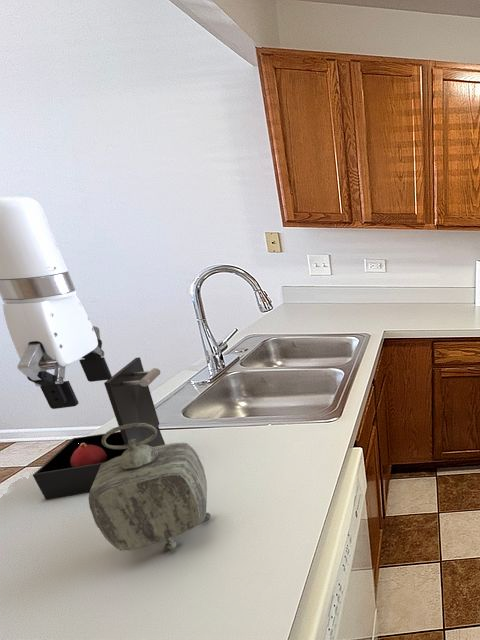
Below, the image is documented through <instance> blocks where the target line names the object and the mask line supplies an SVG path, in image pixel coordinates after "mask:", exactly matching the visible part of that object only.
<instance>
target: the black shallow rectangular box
mask: <svg viewBox="0 0 480 640" xmlns="http://www.w3.org/2000/svg"><path fill="white" fill-rule="evenodd" d="M156 430H157V434H156V436H155V437H154V439H153V440H151V441H149V442H148V443H146V444H144V445H148V446H151V447H155V446H160V445H166V443H165V440H164V438H163V434H162V432H161V429H160V425H158V427H157V428H156ZM105 434H106V433H99V434H93V435H85V436H79V437H72V438H71V440H69V441H68V442H67V443H66V444H65V445H64V446H62V448H60V450H59V451H57V452H56V453H55V454H54V455H53V456H52V457H50V459H49V460H47V461H46V462H45V463H44V464H43V465H42V466H40V468H39V469H38V470H36V471H35V472H34V473H33V474H32V478H33V479H34V481H35V482H36V484H37V486H38V488H39V490H40V491H41V494H42V495H43V497H44V499H45V500H46V501H49V500H53V499H54V500H55V499H59V498H65V497H71V496H76V495H82V494H88V493H90V489H91V487H92V485H93V482H94V480H95V478H96V475H97V473H98V471H99V468H100V466H101V465H102V464H104V463H105V462H104V463H98V464H92V465H85V466H79V467H72V466H71V463H70V460H71V457H72V455H73V453H74V451H75V450H76V449H77V448H78V447H79V446H80V444H81V443H85V444H87V445H95V446H98V447H100V448H102V449H103V450H104V451H105V453H106V454H107V459H106V462H107V461H109V460H111V459H113V458H116V457H119V456H122V454H123V453H124V451H126V450H127V449H110V448H107V447H105V446H104V445H103V444H102V437H103V436H104V435H105ZM153 434H154V432H153V433H152V434H151V436H152V435H153ZM151 436H150V437H151ZM78 443H79V444H78ZM106 443H107V444H108V445H113V446H120V445H125V443H124V440H123V437H122V434H121V432H120V431H116V432H114V433H112V434H110V435H109V436H108V437H107V438H106Z"/></svg>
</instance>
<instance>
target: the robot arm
mask: <svg viewBox="0 0 480 640" xmlns="http://www.w3.org/2000/svg"><path fill="white" fill-rule="evenodd" d="M77 294H78V291H77V289H76V288H75V285H74V282H73V280H72V277H71V275H70V273H69V271H68V268H67V264H66V262H65V260H64V258H63V254H62V253H61V250H60V248H59V245H58V243H57V241H56V238H55V236H54V233H53V231H52V228H51V225H50V224H49V220H48V218H47V216H46V213H45V211H44V209H43V207H42V205H41V204H40V203H39V202H38V201H37V200H36V199H34V198H32V197H30V196H25V195H11V194H8V195H3V194H2V195H0V298H1V300H2V302H3V304H2V310H3V311H2V312H3V316H4V320H5V324H6V326H7V330H8V332H9V335H10V338H11V340H12V343H13V346H14V348H15V351H16V353H17V356H18V358H19V359H20V360H19V362H18V364H17V370H19V371H20V372H21V373H22V374H23V375H24V376H25V377H26V378H27V380H28V381H30V382H32V383H34V385H35V386H36V387H38V388H39V387H40V390H41V392H42V393H43V396H44V398H45V400H46V402H47V404H48V406H49V408H50V409H52V410H57V409H64V408H72V407H77V406H78V405H79V403H80V402H79V400H78V398H77V396H76V393H75V391H74V389H73V387H72V385H71V383H70V380H65V376H66V367H68V366H71V365H72V364H73V363H75V362H77V361H78V362H79V364H80V366H81V368H82V370H83V373H84V375H85V378H86V380H87V381H88V382H89V383H93V382H101V381H107V380H109V379H111V378H112V376H113V375H112V373H111V370H110V368H109V365H108V363H107V361H106V358H105V357H104V356H105V350H103V349H102V347H103V340H101V332H100V328H99V327H98V326H94V325H93V324H92V322H91V320H90V318H89V316H88V314H87V311H86V310H85V308H84V306H83V304H82V302H81V301H80V298H79V297H78V296H77ZM48 370H49V371H50V370H54V372H53V373H50V372H48Z"/></svg>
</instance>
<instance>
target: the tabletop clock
mask: <svg viewBox="0 0 480 640" xmlns="http://www.w3.org/2000/svg"><path fill="white" fill-rule="evenodd" d="M132 427H147V428H150V429H152V430H153V431H154V434H153V435H152V436H151V437H149V438H147V439H145V440H143V441H139V442H137V441H136V439H130V440H129V441H128V444H127V445H120V446H113V445H108V444H107V443H106V438H107V437H108V436H109V435H110V434H112V433H114V432H120V430H123V429H127V428H132ZM104 434H105V435H104V436H103V437H102V444H103V445H104V446H105V447H107V448H110V449H127V450H126V451H124V453H123V454H122V456H119V457H116V458H113V459H111V460H109V461H107V462H105V463H104V464H102V465H101V466H100V468H99V471H98V473H97V475H96V478H95V480H94V482H93V485H92V487H91V489H90V492H88V493H89V494H88V506H89V510H90V512H91V515H92V518H93V521H94V523H95V525H96V527H97V528H98V529H99V531H100V532H101V534H102V535H103V537H104V538H105V540H106V541H108V542H109V544H110V545H112V546H113V547H114V548H116V549H117V550H118V551H120V552H123V551H132V550H136V549H141V548H144V547H146V546H150V545H152V544H156V543H159V542H162V541H166V543H165V544H164V549H165V551H172V550H174V549H176V546H177V542H176V541H175V540H172V538H174V537H176V536H179V535H181V534H183V533H186V532H188V531H191V530H192V529H194V528H195V527H197V526H198V525H200V524H201V523H202V522H207V521H209V520H210V518H211V513H210V512H207V501H208V481H207V476H206V472H205V467H204V466H203V463H202V462H201V459H200V457H199V455H198V454H197V452H196V450H195V449H194V448H193V447H192V446H191V445H190V444H189V443H188V442H172V443H165V445H160V446H155V447H151V446H148V445H144V444H146V443H148V442H149V441H151V440H153V439H154V437H155V436H156V434H157V430H156V428H155V427H153V426H152V425H149V424H146V423H131V424H126V425H122V426H116V427H113V428H111V429H109V430H108V431H106V432H105V433H104ZM128 448H129V449H128Z"/></svg>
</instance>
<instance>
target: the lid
mask: <svg viewBox="0 0 480 640" xmlns="http://www.w3.org/2000/svg"><path fill="white" fill-rule="evenodd" d="M160 375H161V370H160V369H159V368H156V367H154V368H152V369H150V370H147V371H145V370H144V366H143V363H142V360H141V357H140V356H139V357H135V358H133V360H131V361H129V362H128V363H127V364H125V366H123V367H122V368H121V369H120V370H118V371H117V372H116V373H115V374H113V375H112V378H111V379H109V380H105V382H104V383H103V384H104V387H105V391H106V394H107V396H108V398H109V402H110V405H111V408H112V411H113V414H114V417H115V420H116V423H117V425H118V426H117V427H119V426H122V425H126V424H131V423H146V424H149V425H152V426H153V427H155V428H157V427H158V426H160V421H159V417H158V413H157V411H156V407H155V403H154V400H153V397H152V393H151V390H150V385H151V384H152V382H154V381H155V379H157V378H158V377H159V376H160ZM119 432H121V434H122V437H123V440H124V443H125V445H127V444H128V441H129V440H130V439H136V441H137V442H139V441H143V440H145V439H147V438H149V437H150V436H151V434H152V433H153V432H154V431H153V430H152V429H150V428H147V427H132V428H127V429H123V430H120V431H119ZM128 449H129V448H128Z"/></svg>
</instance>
